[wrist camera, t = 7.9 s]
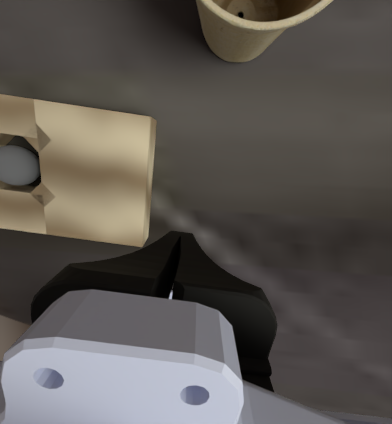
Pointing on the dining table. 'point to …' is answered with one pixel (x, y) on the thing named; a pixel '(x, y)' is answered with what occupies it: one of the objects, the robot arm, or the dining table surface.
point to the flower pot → (250, 24)
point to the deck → (80, 171)
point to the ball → (18, 165)
